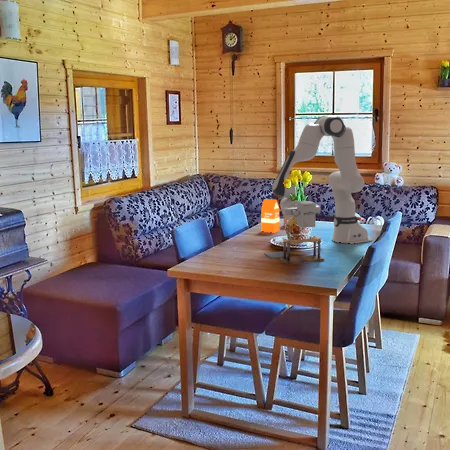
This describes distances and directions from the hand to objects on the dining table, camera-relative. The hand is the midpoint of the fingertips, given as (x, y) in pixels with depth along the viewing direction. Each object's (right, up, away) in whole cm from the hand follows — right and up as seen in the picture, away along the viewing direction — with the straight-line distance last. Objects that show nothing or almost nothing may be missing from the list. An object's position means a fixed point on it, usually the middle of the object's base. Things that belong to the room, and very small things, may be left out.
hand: (306, 212), depth 283 cm
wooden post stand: (-4, -23, -10) cm, 25 cm away
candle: (+3, -7, +76) cm, 76 cm away
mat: (-15, -22, +1) cm, 27 cm away
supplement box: (0, -7, +2) cm, 8 cm away
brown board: (-4, -24, -10) cm, 26 cm away
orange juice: (-14, -10, +61) cm, 64 cm away
